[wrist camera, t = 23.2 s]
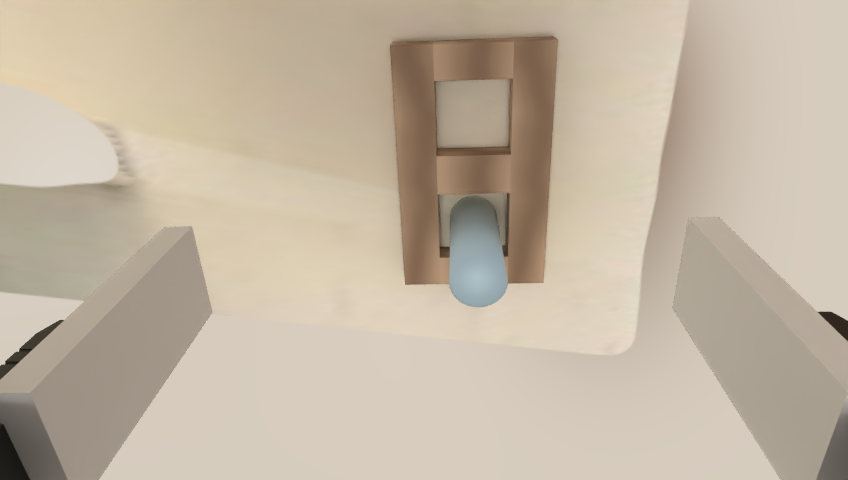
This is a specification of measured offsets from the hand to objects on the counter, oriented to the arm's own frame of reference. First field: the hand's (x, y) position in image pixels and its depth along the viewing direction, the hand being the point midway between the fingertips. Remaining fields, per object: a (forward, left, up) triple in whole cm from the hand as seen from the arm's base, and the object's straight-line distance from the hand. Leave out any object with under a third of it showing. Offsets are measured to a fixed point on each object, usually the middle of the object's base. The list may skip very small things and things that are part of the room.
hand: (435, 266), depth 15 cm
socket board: (+2, -8, -32) cm, 33 cm away
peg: (+2, -13, -32) cm, 34 cm away
